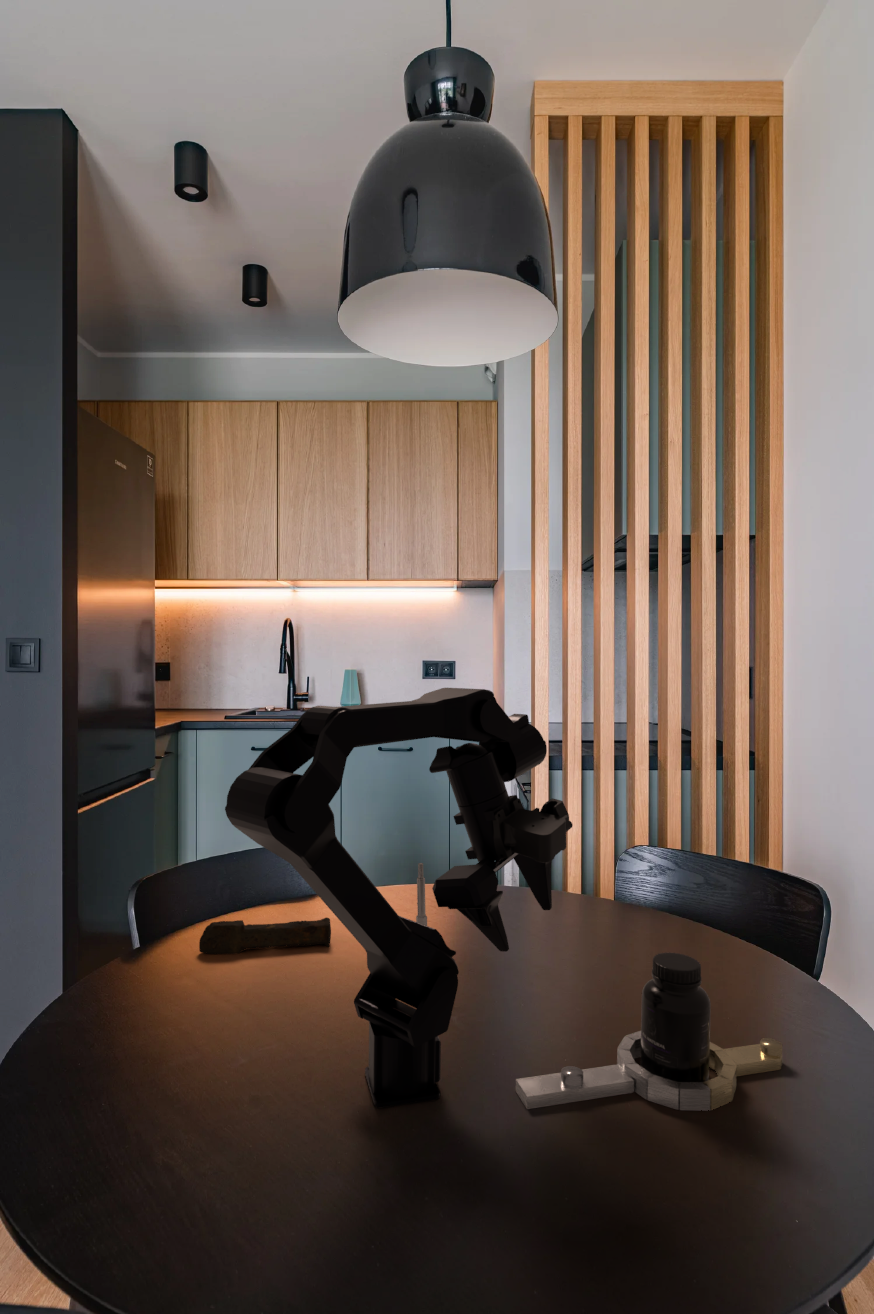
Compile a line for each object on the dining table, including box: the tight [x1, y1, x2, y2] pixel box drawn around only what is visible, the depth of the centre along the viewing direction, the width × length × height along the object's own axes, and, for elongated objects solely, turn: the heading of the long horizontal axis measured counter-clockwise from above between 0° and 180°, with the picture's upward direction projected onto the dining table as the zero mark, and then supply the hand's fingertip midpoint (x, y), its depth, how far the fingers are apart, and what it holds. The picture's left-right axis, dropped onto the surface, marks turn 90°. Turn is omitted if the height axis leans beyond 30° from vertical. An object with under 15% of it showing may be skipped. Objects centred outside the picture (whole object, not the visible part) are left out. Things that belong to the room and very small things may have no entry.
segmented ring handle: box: [515, 1030, 711, 1112], centre depth 73 cm, size 17×12×2 cm
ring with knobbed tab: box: [703, 1037, 783, 1111], centre depth 76 cm, size 13×12×2 cm
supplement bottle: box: [640, 951, 712, 1082], centre depth 75 cm, size 7×7×12 cm
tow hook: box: [415, 862, 428, 926], centre depth 109 cm, size 8×13×9 cm
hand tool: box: [198, 917, 332, 955], centre depth 107 cm, size 19×4×5 cm, turn 102°
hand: (527, 929), depth 80 cm, fingers open, 9 cm apart
